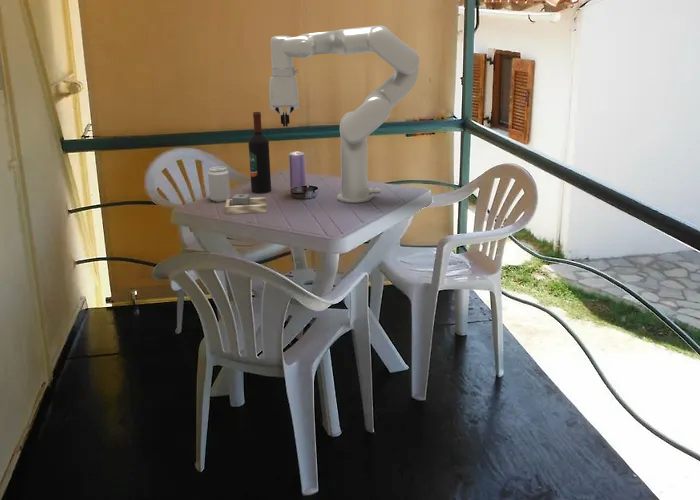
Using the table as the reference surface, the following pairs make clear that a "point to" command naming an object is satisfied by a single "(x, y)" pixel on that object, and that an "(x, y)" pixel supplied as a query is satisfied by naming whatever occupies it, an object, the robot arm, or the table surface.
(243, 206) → the bay
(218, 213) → the table surface
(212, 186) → the can
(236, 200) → the dice cube
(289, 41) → the robot arm
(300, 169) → the beverage can
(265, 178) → the wine bottle
